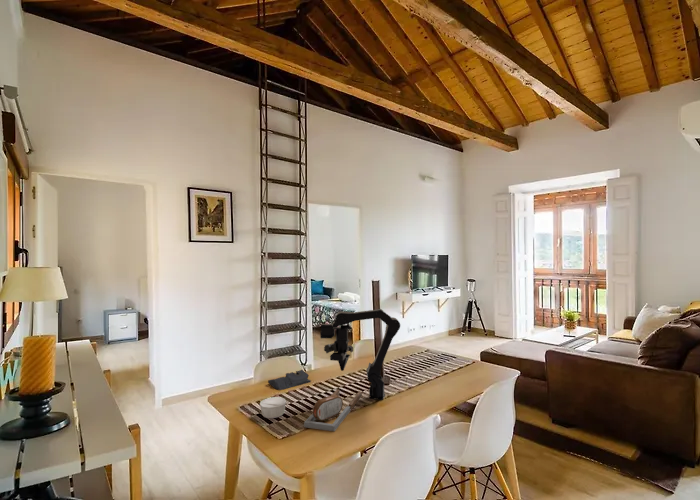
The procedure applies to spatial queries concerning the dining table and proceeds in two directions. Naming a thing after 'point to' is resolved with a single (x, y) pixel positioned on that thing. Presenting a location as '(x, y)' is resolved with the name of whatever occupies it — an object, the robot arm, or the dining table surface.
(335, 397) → the tin
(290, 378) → the dark slate chunk
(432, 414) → the dining table surface
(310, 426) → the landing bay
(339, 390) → the pair of brown bars
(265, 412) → the ramekin
